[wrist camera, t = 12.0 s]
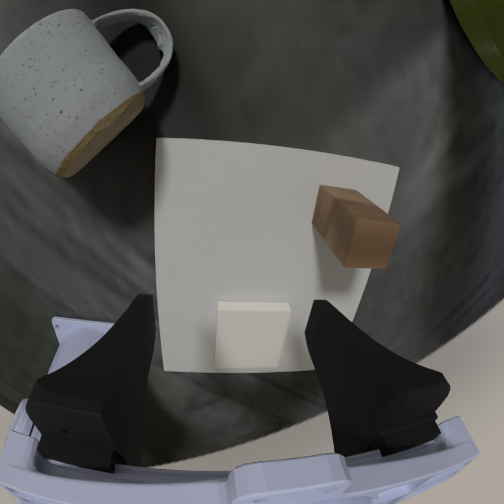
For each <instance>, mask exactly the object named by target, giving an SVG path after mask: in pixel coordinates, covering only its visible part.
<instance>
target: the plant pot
mask: <svg viewBox="0 0 504 504" xmlns="http://www.w3.org/2000/svg"><path fill="white" fill-rule="evenodd" d="M450 3H451V5H452V8H453V10H454V12H455V14H456V17H457V19H458V21H459V23H460V25H461V27H462V29H463V30H464V32H465V34H466V36H467V37H468V39H469V41H470V43H471V44H472V46H473V48H474V49H475V51H476V52H477V54H478V55H479V57H480V58H481V60H482V61H483V62H484V64H485V65H486V66H487V67H488V69H489V70H490V71H491V72H492V73H493V74H494V75H495V76H496V77H497V78H498V79H499V80H500V81H501V82H502V83H503V84H504V0H450Z"/></svg>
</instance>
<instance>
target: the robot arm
mask: <svg viewBox="0 0 504 504" xmlns="http://www.w3.org/2000/svg"><path fill="white" fill-rule="evenodd" d="M52 324H53V327H54V329H55V332H56V335H57V338H58V341H59V344H60V346H59V348H58V350H57V352H56V355H55V357H54V359H53V362H52V364H51V367H50V369H49V372H48V374H47V375H45V376H43V377H41V378H39V379H37V380H36V382H35V384H34V386H33V388H32V391H31V393H30V396H29V398H27V399H23V400H22V402H21V403H20V405H19V407H18V409H17V411H16V413H15V415H14V418H13V420H12V423H11V425H10V428H9V431H8V434H7V437H6V440H5V444H4V448H3V452H2V456H1V459H0V485H1V486H3V487H4V488H5V489H7V490H8V491H9V492H10V493H11V495H12V496H13V497H14V499H15V500H16V501H17V503H18V504H396V503H398V502H401V501H403V500H405V499H408V498H410V497H412V496H414V495H416V494H418V493H421V492H423V491H425V490H427V489H429V488H431V487H433V486H435V485H437V484H439V483H441V482H443V481H445V480H447V479H449V478H451V477H452V476H453V475H455V474H456V473H457V472H459V471H460V470H461V469H463V468H464V467H465V466H466V465H468V464H469V463H470V462H471V461H472V460H474V459H475V458H476V457H477V456H478V455H479V454H480V452H479V450H478V449H477V447H476V445H475V443H474V441H473V439H472V438H471V436H470V434H469V432H468V430H467V429H466V427H465V425H464V423H463V422H462V420H461V418H460V416H456V417H453V418H451V419H448V420H446V421H444V422H441V423H440V424H439V425H437V424H436V422H435V420H436V419H437V417H438V416H437V414H436V413H435V411H436V410H437V409H438V407H439V406H440V405H441V404H442V402H443V401H444V400H445V398H446V397H447V396H448V394H449V391H450V385H449V383H448V382H447V381H446V379H445V377H444V376H443V374H442V373H441V372H438V371H435V370H432V369H429V368H426V367H423V366H420V365H418V364H416V363H413V362H411V361H409V360H407V359H405V358H403V357H401V356H399V355H397V354H395V353H393V352H392V351H390V350H388V349H387V348H385V347H384V346H382V345H381V344H379V343H378V342H376V341H375V340H373V339H372V338H371V337H369V336H368V335H367V334H365V333H364V332H363V331H362V330H360V329H359V328H358V327H357V326H356V325H354V324H353V323H352V322H351V321H350V320H349V319H348V318H346V317H345V316H344V315H343V314H342V313H341V312H340V311H339V310H338V309H337V308H335V307H334V306H333V305H332V304H331V303H330V302H328V301H327V300H314V301H313V305H312V308H311V312H310V315H309V318H308V322H307V325H306V329H305V332H304V333H305V338H306V343H307V348H308V352H309V355H310V357H311V360H312V363H313V366H314V368H315V371H316V374H317V376H318V379H319V382H320V384H321V387H322V390H323V393H324V397H325V401H326V405H327V409H328V414H329V419H330V424H331V430H332V437H333V443H334V451H335V453H326V454H319V455H312V456H306V457H298V458H290V459H281V460H270V461H260V462H253V463H247V464H244V465H241V466H238V467H236V468H235V469H234V470H232V471H185V470H184V471H183V470H166V469H154V468H144V467H142V458H141V446H142V417H143V403H144V394H145V388H146V383H147V378H148V374H149V369H150V364H151V360H152V355H153V351H154V342H155V332H156V327H155V317H154V305H153V295H148V294H139V295H137V297H136V298H135V299H134V301H133V302H132V303H131V305H130V306H129V307H128V308H127V310H126V311H125V312H124V313H123V315H122V316H121V317H120V318H119V319H118V320H117V322H116V323H108V322H98V321H88V320H80V319H71V318H63V317H53V319H52Z"/></svg>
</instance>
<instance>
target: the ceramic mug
mask: <svg viewBox="0 0 504 504" xmlns="http://www.w3.org/2000/svg"><path fill="white" fill-rule="evenodd" d="M125 21H133V22H138V23H141V24H142V25H144V26H146V27H147V29H148V30H149V31H150V33H151V34H152V36H153V37H154V39H155V40H156V42H157V48H158V49H159V50H161V51H162V52H163V58H162V61H161V63H160V66H159V67H158V68H157V69H156V70H155V71H154V72H153V73H152V74H151V75H150V76H149V77H147V78H146V79H145V80H144V81H142V82H138V81H137V80H136V78H135V76H134V75H133V74H132V72H131V71H130V70H129V69H128V68H127V66H126V65H125V64H124V63H123V62H122V61H121V60H120V58H119V57H118V56H117V55H116V53H115V52H114V51H113V49H112V48H111V46H110V45H109V44H108V43H107V41H106V40H105V39H104V37H103V36H102V35H101V33H100V32H99V31H98V30H100V29H102V28H104V27H106V26H109V25H112V24H115V23H119V22H125ZM172 52H173V39H172V36H171V33H170V31H169V29H168V28H167V26H166V25H165V24H164V22H163V21H162V20H161V19H160V18H159V17H158V16H156V15H155V14H153V13H151V12H149V11H145V10H140V9H124V10H119V11H114V12H111V13H108V14H106V15H103V16H101V17H98V18H96V19H94V20H90V19H89V18H88V17H87V16H86V14H85V13H84V12H82V11H80V10H76V9H68V10H63V11H59V12H56V13H54V14H51V15H49V16H47V17H45V18H43V19H41V20H40V21H38V22H36V23H35V24H34V25H32V26H31V27H29V28H28V29H27V30H25V31H24V32H23V33H22V34H20V35H19V36H18V37H17V38H16V39H15V40H14V41H13V42H12V43H11V44H10V45H9V46H8V47H7V48H6V50H5V51H4V52H3V53H2V54H1V56H0V118H1V119H2V120H3V121H4V123H5V124H6V125H7V126H8V127H9V129H10V130H11V131H12V132H13V133H14V134H15V136H16V137H17V138H18V139H19V140H20V141H21V142H22V143H23V144H24V145H25V146H26V148H27V149H28V150H29V151H30V152H31V153H32V155H33V156H34V157H35V158H36V159H37V160H38V161H39V162H40V163H41V164H42V165H43V166H44V167H46V168H47V169H48V170H50V171H51V172H53V173H54V174H55V175H57V176H59V177H62V178H67V177H71V176H73V175H74V174H76V173H77V172H78V171H79V170H81V169H82V168H83V167H84V166H85V165H86V164H87V163H88V162H89V161H90V160H92V159H93V158H94V157H95V156H96V155H97V154H98V153H99V152H100V151H101V150H102V149H103V148H104V147H105V146H106V145H108V144H109V143H110V142H111V141H112V140H113V139H114V138H115V137H116V136H117V135H118V134H119V133H120V132H121V131H122V130H123V129H124V128H125V127H126V126H127V125H128V124H130V123H131V122H132V121H133V120H134V119H135V118H136V117H137V116H138V114H139V113H140V112H141V111H142V109H143V107H144V105H145V95H144V93H143V91H144V90H145V89H147V88H148V87H150V86H151V85H152V84H153V83H154V82H155V81H156V80H157V79H158V77H159V76H160V75H161V74H162V73H163V71H164V70H165V69H166V67H167V66H168V64H169V62H170V59H171V56H172Z"/></svg>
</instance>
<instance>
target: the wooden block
mask: <svg viewBox="0 0 504 504" xmlns="http://www.w3.org/2000/svg"><path fill="white" fill-rule="evenodd" d="M312 224H313V225H314V227H315V228H316V229H317V231H318V232H319V233H320V235H321V236H322V238H323V239H324V240H325V242H326V243H327V245H328V246H329V247H330V249H331V250H332V252H333V253H334V254H335V256H336V257H337V259H338V260H339V261H340V263H341V264H342V266H343V267H346V268H370V269H386V267H387V264H388V261H389V259H390V256H391V253H392V250H393V247H394V244H395V241H396V238H397V235H398V231H399V228H400V225H401V224H399V223H398V222H397V221H396V220H395V219H393V218H392V217H391V216H389V215H388V214H387V213H386V212H384V211H383V210H382V209H381V208H379V207H378V206H377V205H375V204H374V203H373V202H371V201H370V200H369V199H368V198H366V197H365V196H364V195H362V194H361V193H359V192H358V191H357V190H353V189H347V188H340V187H333V186H326V185H319V190H318V195H317V200H316V205H315V209H314V214H313V219H312Z"/></svg>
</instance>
